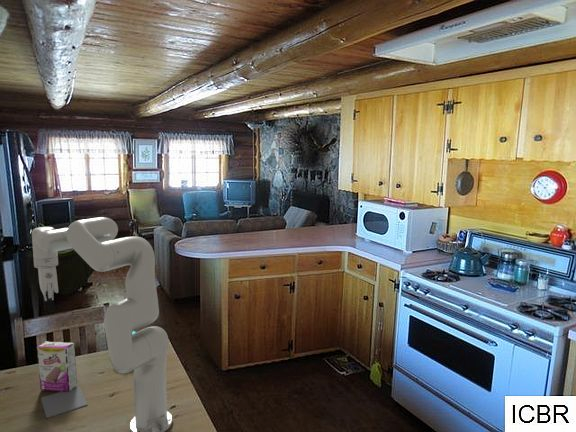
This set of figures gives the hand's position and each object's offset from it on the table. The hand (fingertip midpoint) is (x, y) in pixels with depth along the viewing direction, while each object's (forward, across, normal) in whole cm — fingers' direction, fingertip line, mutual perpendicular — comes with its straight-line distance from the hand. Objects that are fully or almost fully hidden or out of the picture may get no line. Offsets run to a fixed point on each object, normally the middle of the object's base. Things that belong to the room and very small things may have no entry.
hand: (49, 309), depth 152 cm
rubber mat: (+26, -20, 0) cm, 33 cm away
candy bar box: (+26, -10, 0) cm, 28 cm away
